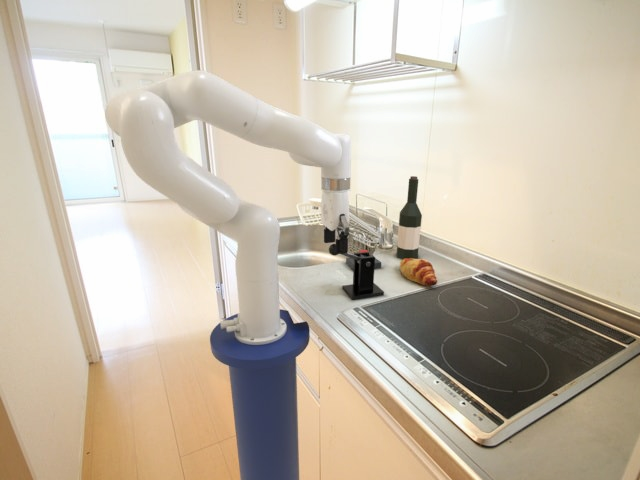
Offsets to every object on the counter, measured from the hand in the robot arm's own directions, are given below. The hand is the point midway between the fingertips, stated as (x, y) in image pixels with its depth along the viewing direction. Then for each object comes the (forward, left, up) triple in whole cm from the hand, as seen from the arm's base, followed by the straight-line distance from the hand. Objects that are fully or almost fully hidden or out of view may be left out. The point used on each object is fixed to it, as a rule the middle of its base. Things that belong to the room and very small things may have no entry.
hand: (335, 247), depth 99 cm
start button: (+18, +20, -11) cm, 29 cm away
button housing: (+18, +20, -15) cm, 30 cm away
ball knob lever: (+4, 0, -4) cm, 5 cm away
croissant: (+31, +5, -15) cm, 35 cm away
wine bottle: (+38, +24, -15) cm, 47 cm away
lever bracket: (+9, 0, -15) cm, 17 cm away
